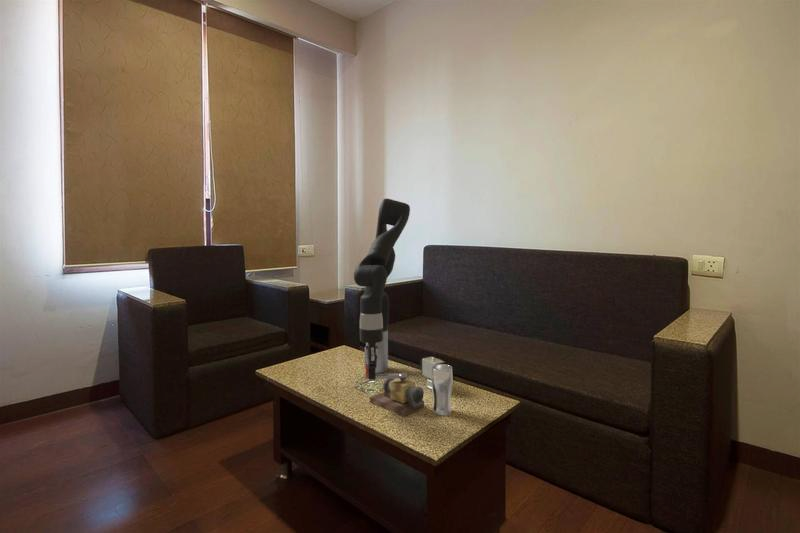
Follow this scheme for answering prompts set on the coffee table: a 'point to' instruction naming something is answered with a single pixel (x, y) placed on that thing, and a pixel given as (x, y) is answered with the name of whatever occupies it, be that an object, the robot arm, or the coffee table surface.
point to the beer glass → (442, 388)
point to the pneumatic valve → (429, 367)
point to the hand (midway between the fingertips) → (372, 378)
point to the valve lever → (386, 375)
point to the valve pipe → (399, 396)
